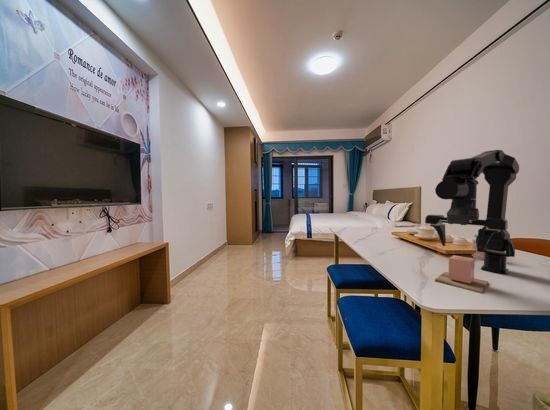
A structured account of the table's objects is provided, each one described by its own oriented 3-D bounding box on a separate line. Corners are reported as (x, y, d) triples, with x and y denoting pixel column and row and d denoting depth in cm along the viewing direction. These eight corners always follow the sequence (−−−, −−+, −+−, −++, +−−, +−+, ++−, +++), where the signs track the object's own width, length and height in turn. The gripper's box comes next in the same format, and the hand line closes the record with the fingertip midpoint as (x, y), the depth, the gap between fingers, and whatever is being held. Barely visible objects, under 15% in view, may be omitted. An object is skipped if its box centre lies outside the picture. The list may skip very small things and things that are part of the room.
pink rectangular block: (453, 274, 71) (453, 255, 71) (474, 279, 67) (474, 258, 67) (448, 278, 68) (449, 258, 68) (470, 283, 64) (470, 262, 64)
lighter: (492, 261, 88) (493, 237, 88) (482, 260, 89) (483, 237, 88) (478, 255, 96) (478, 233, 96) (469, 255, 97) (470, 233, 96)
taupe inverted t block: (444, 273, 75) (445, 253, 75) (488, 283, 67) (489, 261, 66) (434, 281, 69) (435, 259, 68) (481, 293, 60) (482, 268, 60)
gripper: (419, 199, 69) (418, 246, 70) (504, 200, 54) (501, 260, 55) (431, 198, 76) (430, 242, 76) (509, 199, 61) (506, 253, 62)
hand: (462, 248), depth 67 cm, fingers open, 9 cm apart
